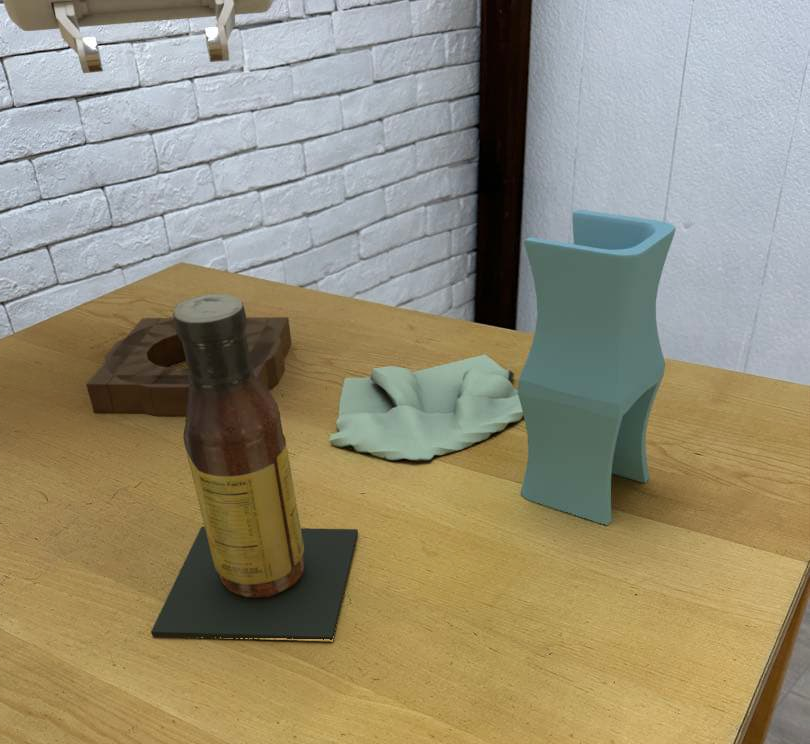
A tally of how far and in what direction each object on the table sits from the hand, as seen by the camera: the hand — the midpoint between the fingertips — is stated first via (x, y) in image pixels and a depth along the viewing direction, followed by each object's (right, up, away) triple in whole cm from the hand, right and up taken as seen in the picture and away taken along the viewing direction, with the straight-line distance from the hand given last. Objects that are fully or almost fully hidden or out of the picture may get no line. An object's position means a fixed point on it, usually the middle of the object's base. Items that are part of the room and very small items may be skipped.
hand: (156, 61), depth 68 cm
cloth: (+22, -23, +16) cm, 36 cm away
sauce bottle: (+9, -39, -4) cm, 40 cm away
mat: (+9, -39, -4) cm, 40 cm away
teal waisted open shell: (+33, -32, +4) cm, 46 cm away
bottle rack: (-2, -19, +24) cm, 31 cm away
